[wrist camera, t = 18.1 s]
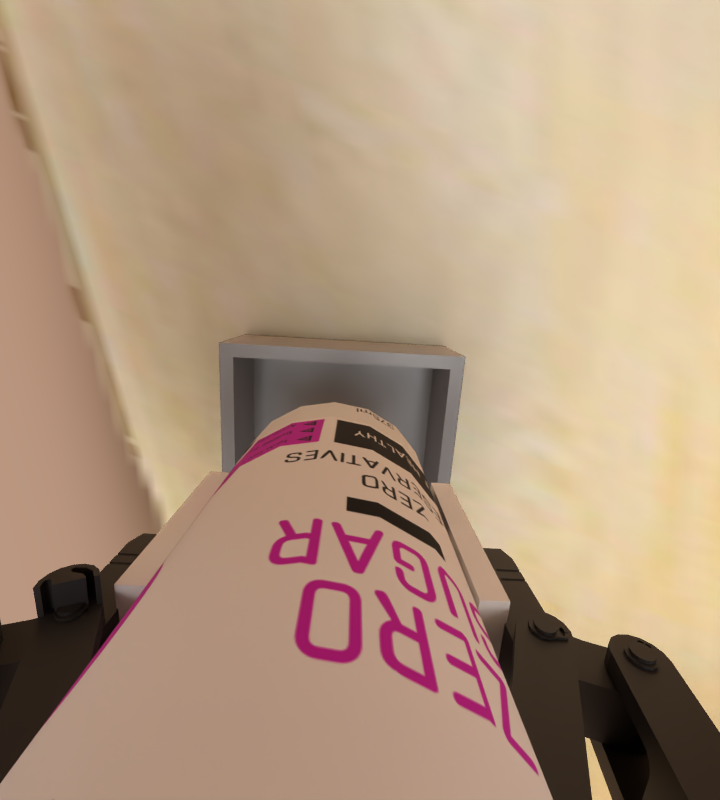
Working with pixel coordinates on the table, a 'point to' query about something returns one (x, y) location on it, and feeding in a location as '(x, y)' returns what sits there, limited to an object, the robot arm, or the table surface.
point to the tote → (342, 390)
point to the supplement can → (296, 647)
